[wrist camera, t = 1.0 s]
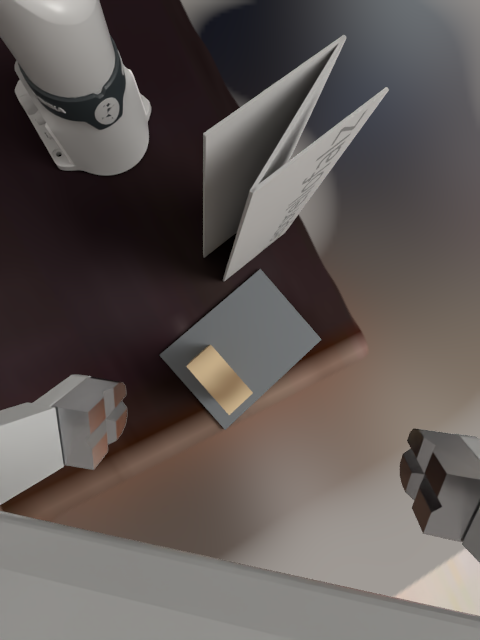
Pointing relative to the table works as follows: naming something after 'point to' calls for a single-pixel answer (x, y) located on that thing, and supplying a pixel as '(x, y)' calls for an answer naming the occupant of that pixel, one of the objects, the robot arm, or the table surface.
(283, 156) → the brochure
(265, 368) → the rubber mat
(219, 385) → the wood block
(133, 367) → the table surface
